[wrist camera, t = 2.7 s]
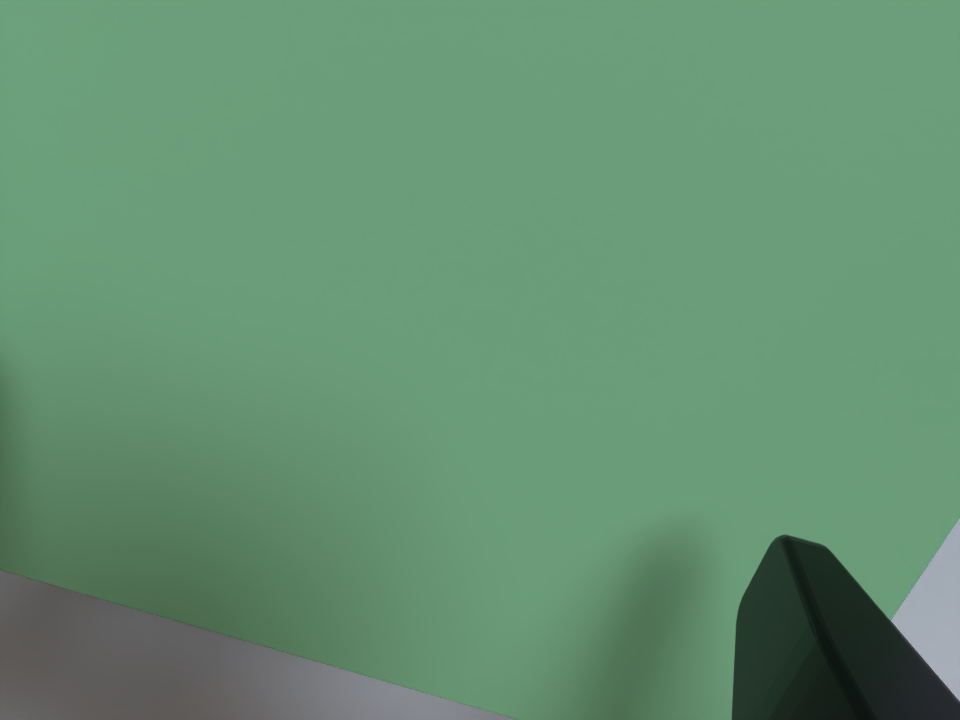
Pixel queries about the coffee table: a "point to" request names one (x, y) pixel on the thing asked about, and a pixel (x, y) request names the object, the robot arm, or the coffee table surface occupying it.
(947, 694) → the robot arm
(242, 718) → the coffee table surface
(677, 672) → the putting mat
